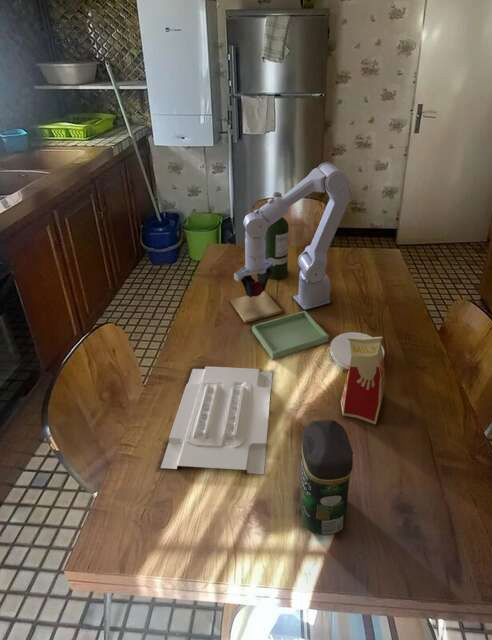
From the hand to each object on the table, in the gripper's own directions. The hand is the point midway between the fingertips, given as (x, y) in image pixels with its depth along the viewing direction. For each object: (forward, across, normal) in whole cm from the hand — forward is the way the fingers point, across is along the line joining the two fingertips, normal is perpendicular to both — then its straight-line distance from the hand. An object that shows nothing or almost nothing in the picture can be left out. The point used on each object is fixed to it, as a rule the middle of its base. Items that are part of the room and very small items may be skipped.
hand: (255, 292), depth 133 cm
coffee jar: (+6, -32, -56) cm, 65 cm away
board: (+5, 0, 0) cm, 5 cm away
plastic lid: (+6, +5, -35) cm, 36 cm away
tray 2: (+5, -2, -17) cm, 18 cm away
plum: (-1, 0, 0) cm, 1 cm away
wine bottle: (+6, +19, +11) cm, 23 cm away
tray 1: (+6, -32, -27) cm, 42 cm away
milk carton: (+6, -8, -46) cm, 47 cm away
